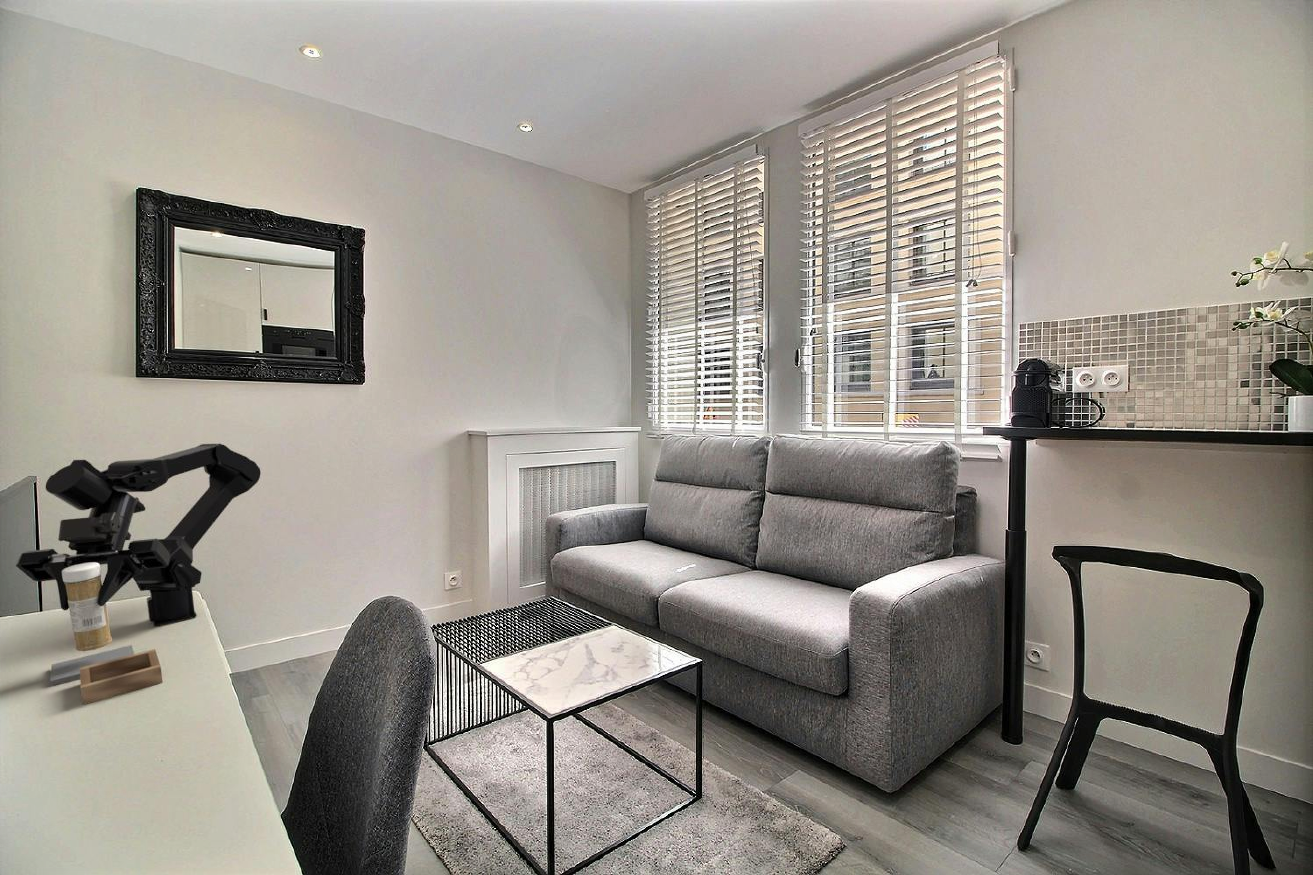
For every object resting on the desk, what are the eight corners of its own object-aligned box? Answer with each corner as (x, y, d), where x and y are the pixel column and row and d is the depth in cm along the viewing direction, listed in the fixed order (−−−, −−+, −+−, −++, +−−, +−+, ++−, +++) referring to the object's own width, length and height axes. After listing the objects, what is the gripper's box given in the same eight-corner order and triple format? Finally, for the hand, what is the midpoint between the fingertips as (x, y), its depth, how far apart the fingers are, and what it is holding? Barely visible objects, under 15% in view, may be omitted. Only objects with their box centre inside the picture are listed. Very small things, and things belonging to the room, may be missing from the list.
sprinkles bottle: (114, 637, 105) (102, 559, 104) (109, 647, 102) (96, 566, 100) (78, 644, 103) (65, 565, 101) (71, 655, 99) (57, 573, 97)
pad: (132, 649, 108) (131, 644, 108) (135, 663, 103) (135, 659, 102) (52, 669, 102) (51, 664, 102) (50, 686, 96) (50, 681, 96)
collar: (156, 663, 102) (155, 648, 102) (162, 682, 96) (160, 666, 96) (82, 683, 96) (80, 667, 96) (82, 704, 90) (80, 687, 90)
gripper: (14, 502, 100) (-25, 592, 91) (153, 491, 106) (130, 575, 97) (51, 538, 109) (19, 624, 99) (179, 526, 114) (159, 606, 105)
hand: (82, 607), depth 100 cm, fingers closed on sprinkles bottle, 4 cm apart
